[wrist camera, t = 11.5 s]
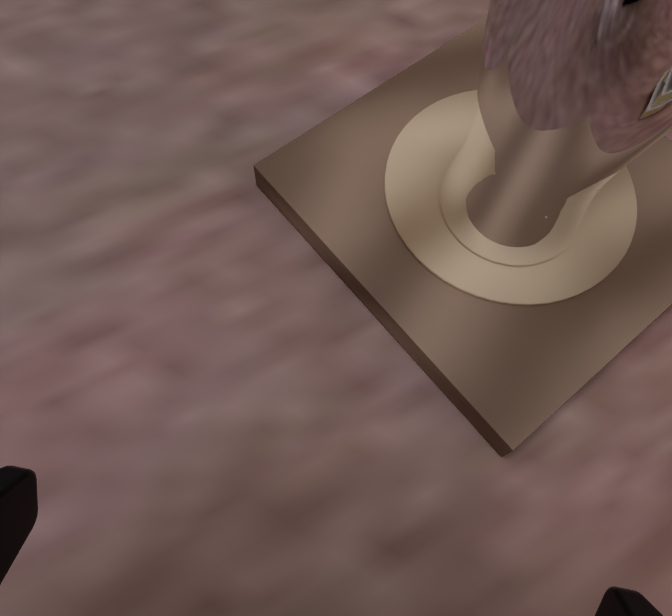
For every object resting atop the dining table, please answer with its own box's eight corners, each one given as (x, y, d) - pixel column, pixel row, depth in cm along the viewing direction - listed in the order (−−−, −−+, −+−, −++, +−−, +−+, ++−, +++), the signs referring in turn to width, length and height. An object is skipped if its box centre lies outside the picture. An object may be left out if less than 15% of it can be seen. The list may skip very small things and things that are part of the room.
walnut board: (742, 234, 27) (770, 213, 26) (501, 456, 23) (515, 449, 21) (496, 30, 32) (507, 1, 30) (256, 184, 28) (252, 161, 26)
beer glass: (395, 205, 25) (492, -220, 11) (493, 113, 27) (676, -340, 14) (527, 310, 24) (828, -39, 10) (621, 202, 26) (979, -210, 12)
